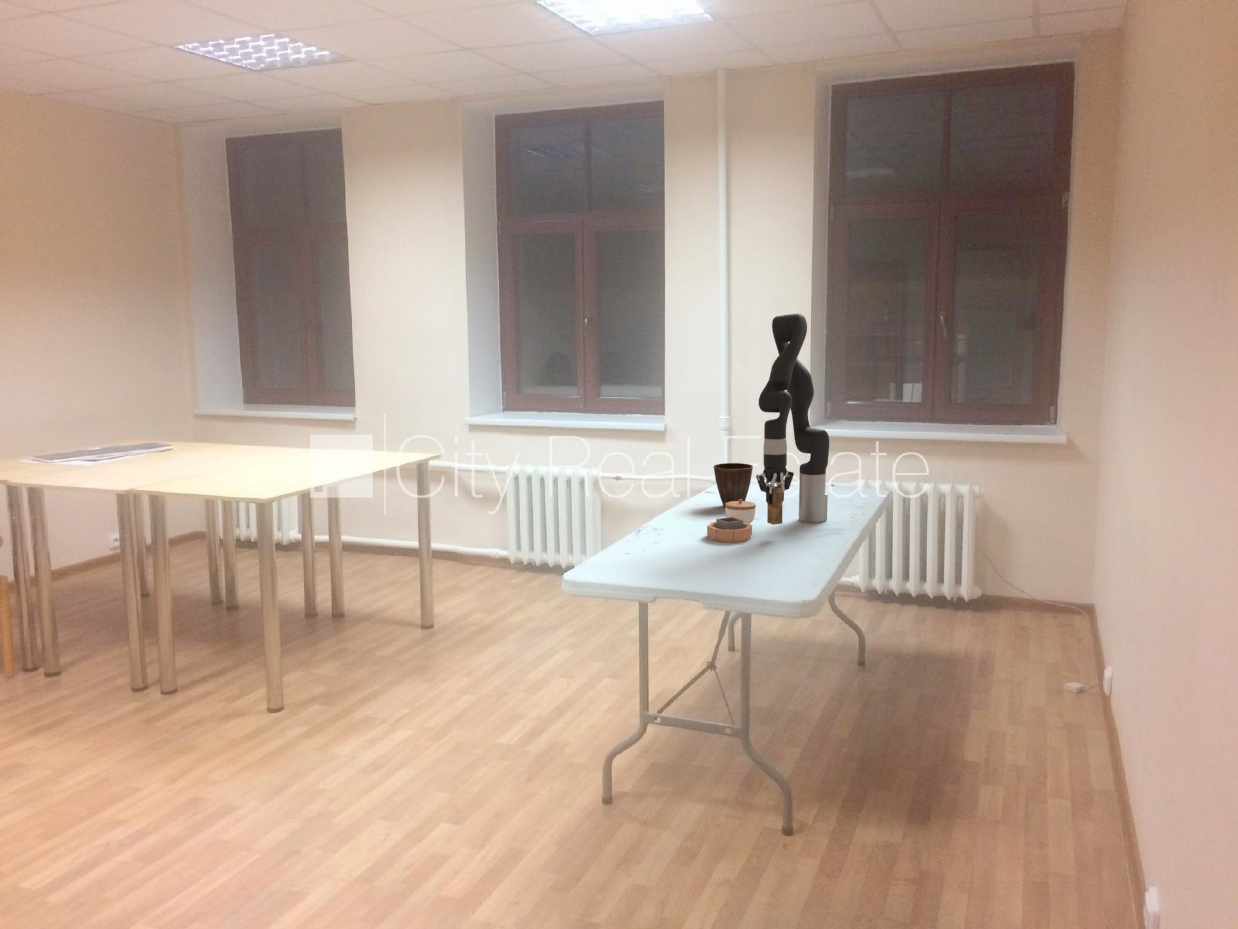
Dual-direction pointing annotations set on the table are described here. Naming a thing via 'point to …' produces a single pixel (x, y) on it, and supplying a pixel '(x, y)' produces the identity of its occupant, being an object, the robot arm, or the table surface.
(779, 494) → the brown long rectangular block
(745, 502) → the lidded jar
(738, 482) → the plant pot
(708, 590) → the table surface
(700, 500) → the table surface
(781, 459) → the robot arm
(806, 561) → the table surface
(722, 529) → the candle pot
